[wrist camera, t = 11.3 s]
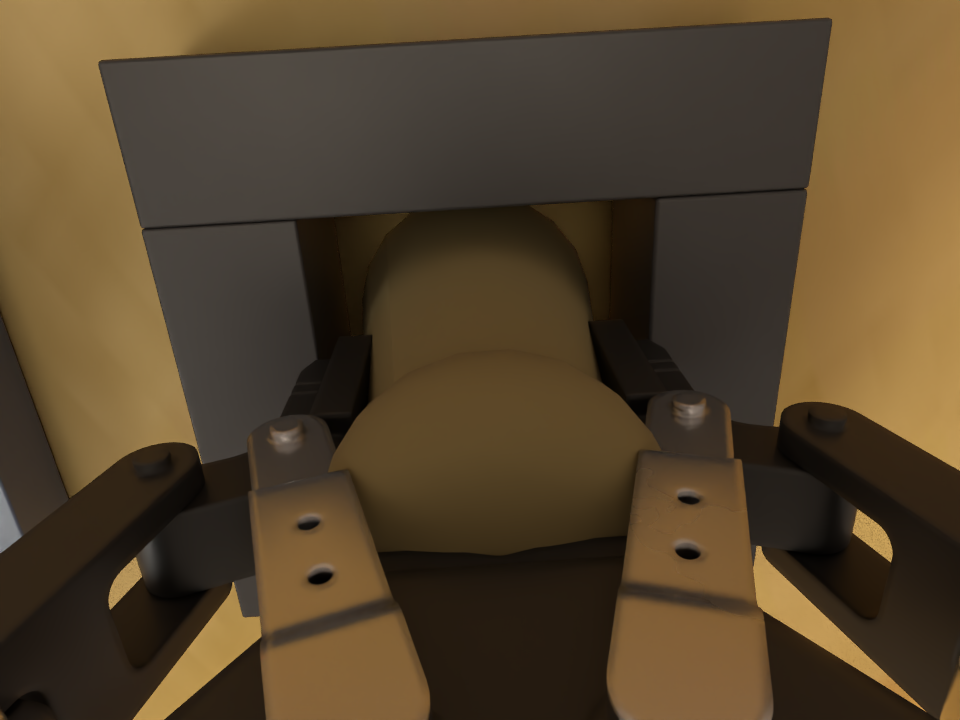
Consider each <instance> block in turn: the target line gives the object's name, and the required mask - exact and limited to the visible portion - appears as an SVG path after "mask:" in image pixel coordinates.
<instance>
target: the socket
mask: <svg viewBox="0 0 960 720" xmlns="http://www.w3.org/2000/svg"><path fill="white" fill-rule="evenodd" d="M831 27H832V19H830V18H814V19H797V20H780V21H763V22H746V23H729V24H712V25H694V26H677V27H660V28H643V29H626V30H609V31H592V32H574V33H557V34H540V35H523V36H506V37H489V38H472V39H454V40H437V41H420V42H403V43H386V44H369V45H352V46H335V47H317V48H300V49H283V50H266V51H249V52H232V53H215V54H197V55H180V56H163V57H146V58H129V59H112V60H101V61H99V64H98V65H99V69H100V73H101V77H102V81H103V84H104V88H105V92H106V96H107V100H108V103H109V107H110V111H111V115H112V119H113V123H114V126H115V130H116V134H117V138H118V142H119V145H120V149H121V153H122V157H123V161H124V164H125V168H126V172H127V176H128V180H129V184H130V187H131V191H132V195H133V199H134V203H135V206H136V210H137V214H138V218H139V222H140V225H141V227H142V228H145V229H143V230H142V235H143V239H144V242H145V246H146V250H147V254H148V258H149V261H150V265H151V269H152V273H153V277H154V280H155V284H156V288H157V292H158V296H159V300H160V303H161V307H162V311H163V315H164V319H165V322H166V326H167V330H168V334H169V338H170V341H171V345H172V349H173V353H174V357H175V360H176V364H177V368H178V372H179V376H180V379H181V383H182V387H183V391H184V395H185V398H186V402H187V406H188V410H189V414H190V418H191V421H192V425H193V429H194V433H195V437H196V440H197V444H198V448H199V452H200V456H201V459H202V463H203V464H206V463H210V462H214V461H218V460H222V459H227V458H230V457H234V456H237V455H240V454H243V453H246V452H248V450H247V439H248V436H249V435H250V433H251V432H252V431H253V430H254V429H256V428H257V427H259V426H260V425H262V424H264V423H266V422H268V421H270V420H273V419H276V418H280V416H281V414H282V412H283V409H284V407H285V405H286V403H287V401H288V399H289V396H291V392H292V390H293V388H294V386H296V381H297V379H298V377H299V375H300V372H301V371H302V370H303V369H305V368H306V367H307V366H309V365H310V364H311V363H312V362H314V361H315V360H323V359H331V356H332V353H333V351H334V348H335V346H336V343H337V340H338V338H339V337H341V336H351V333H350V326H349V319H348V312H347V305H346V298H345V291H344V284H343V277H342V270H341V263H340V256H339V249H338V242H337V235H336V228H335V221H334V217H345V216H362V215H378V214H395V213H411V212H428V211H444V210H460V209H477V208H493V207H510V206H526V205H543V204H559V203H575V202H592V201H608V200H613V210H612V246H611V282H610V318H609V320H614V319H623V321H624V322H625V324H626V325H627V327H628V329H629V330H630V332H631V334H632V335H633V337H634V338H635V340H642V339H649V340H651V341H653V342H654V343H656V344H658V345H660V346H662V347H663V348H665V349H666V351H667V352H668V354H669V355H670V356H671V358H672V359H673V362H675V364H676V365H677V366H678V368H679V371H681V372H682V374H683V375H684V376H685V378H686V379H687V381H688V382H689V384H690V385H691V387H692V388H693V389H694V391H698V392H703V393H707V394H710V395H712V396H715V397H717V398H719V399H720V400H722V401H723V402H725V403H726V404H727V406H728V407H729V409H730V415H731V420H733V421H736V422H741V423H746V424H753V425H763V426H773V425H774V419H775V412H776V405H777V398H778V391H779V384H780V377H781V370H782V363H783V356H784V349H785V343H786V336H787V329H788V322H789V315H790V308H791V301H792V294H793V287H794V280H795V273H796V267H797V260H798V253H799V246H800V239H801V232H802V225H803V218H804V211H805V204H806V198H807V191H806V189H804V188H807V187H808V185H809V179H810V172H811V165H812V158H813V151H814V144H815V138H816V131H817V124H818V117H819V110H820V103H821V96H822V89H823V82H824V75H825V69H826V62H827V55H828V48H829V41H830V34H831ZM755 552H756V545H751V554H752V563H753V566H754V559H755ZM234 584H235V588H236V592H237V596H238V599H239V603H240V607H241V611H242V615H243V617H257V616H260V613H259V603H258V592H257V582H256V575H254V576H251V577H248V578H244V579H241V580H237V581H234Z"/></svg>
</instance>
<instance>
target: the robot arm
mask: <svg viewBox="0 0 960 720" xmlns="http://www.w3.org/2000/svg"><path fill="white" fill-rule="evenodd" d="M588 324H589V328H590V332H591V336H592V341H593V345H594V349H595V353H596V357H597V361H598V365H599V370H600V374H601V378H602V382H603V384H604V385H606V386H607V387H608V388H610V389H611V390H613V391H614V392H615V393H617V394H618V395H619V396H620V397H621V398H622V399H623V400H624V401H625V402H626V404H627V405H628V406H629V407H630V408H631V409H632V411H633V412H634V413H635V414H636V415H637V416H638V418H639V419H640V420H641V421H642V422H643V423H644V425H645V426H646V427H647V428H648V429H649V430H650V432H651V433H652V434H653V436H654V438H655V439H656V441H657V443H658V445H659V447H660V448H661V450H662V451H654V450H645V449H640V450H639V455H638V462H637V470H636V477H635V484H634V492H633V499H632V506H631V514H630V521H629V528H628V536H616V537H601V538H592V539H588V540H583V541H577V542H572V543H566V544H560V545H553V546H546V547H537V548H532V549H528V550H524V551H520V552H516V553H512V554H508V555H502V556H495V555H485V554H477V553H468V552H424V551H408V550H407V551H392V552H377V551H376V548H375V545H374V542H373V539H372V536H371V533H370V530H369V528H368V525H367V522H366V519H365V516H364V513H363V510H362V507H361V505H360V502H359V499H358V496H357V493H356V490H355V487H354V484H353V481H352V479H351V476H350V473H349V470H348V469H347V468H346V469H342V470H337V471H333V472H329V473H328V470H329V467H330V463H331V460H332V457H333V454H334V453H335V451H336V450H337V448H338V446H339V445H340V443H341V442H342V440H343V438H344V437H345V435H346V434H347V432H348V430H349V429H350V427H351V425H352V424H353V422H354V421H355V419H356V417H357V416H358V415H359V414H360V413H361V412H362V411H363V410H364V409H365V408H366V407H367V404H368V389H369V374H370V359H371V344H372V335H357V336H341V337H339V338H338V340H337V343H336V346H335V348H334V351H333V353H332V356H331V359H323V360H315V361H314V362H312V363H311V364H310V365H309V366H307V367H306V368H305V369H303V370H302V371H301V372H300V375H299V377H298V379H297V381H296V386H294V388H293V390H292V392H291V396H289V399H288V401H287V403H286V405H285V407H284V409H283V412H282V414H281V416H280V418H276V419H273V420H270V421H268V422H266V423H264V424H262V425H260V426H259V427H257V428H256V429H254V430H253V431H252V432H251V433H250V435H249V436H248V439H247V450H248V452H246V453H243V454H240V455H237V456H234V457H230V458H227V459H222V460H218V461H214V462H210V463H206V464H201V462H200V459H199V455H198V452H197V450H196V449H195V448H194V447H193V446H191V445H189V444H185V443H177V442H171V443H161V444H156V445H151V446H148V447H145V448H142V449H139V450H137V451H134V452H132V453H130V454H128V455H126V456H125V457H123V458H122V459H120V460H119V461H117V462H116V463H115V464H114V465H112V466H111V467H110V468H109V469H107V470H106V471H105V472H103V473H102V474H101V475H100V476H98V477H97V478H96V479H95V480H93V481H92V482H91V483H89V484H88V485H87V486H86V487H84V488H83V489H82V490H81V491H79V492H78V493H77V494H75V495H74V496H73V497H72V498H70V499H69V500H68V501H67V502H65V503H64V504H63V505H61V506H60V507H59V508H58V509H56V510H55V511H54V512H53V513H51V514H50V515H49V516H47V517H46V518H45V519H44V520H42V521H41V522H40V523H39V524H37V525H36V526H35V527H33V528H32V529H31V530H30V531H28V532H27V533H26V534H24V535H23V536H22V537H21V538H19V539H18V540H17V541H16V542H14V543H13V544H12V545H10V546H9V547H8V548H7V549H5V550H4V551H3V552H2V553H0V720H132V719H133V718H134V717H135V716H136V714H137V713H138V712H139V710H140V709H141V708H142V707H143V705H144V704H145V703H146V701H147V700H148V699H149V697H150V696H151V695H152V694H153V692H154V691H155V690H156V688H157V687H158V686H159V685H160V683H161V682H162V681H163V679H164V678H165V677H166V676H167V674H168V673H169V672H170V670H171V669H172V668H173V666H174V665H175V664H176V663H177V661H178V660H179V659H180V657H181V656H182V655H183V654H184V652H185V651H186V650H187V648H188V647H189V646H190V645H191V643H192V642H193V641H194V639H195V638H196V637H197V635H198V634H199V633H200V632H201V630H202V629H203V628H204V626H205V625H206V624H207V623H208V621H209V620H210V619H211V617H212V616H213V615H214V614H215V612H216V611H217V610H218V608H219V607H220V606H221V604H222V603H223V602H224V601H225V599H226V598H227V596H228V595H229V593H230V591H231V587H232V582H234V581H237V580H241V579H244V578H248V577H251V576H254V575H256V582H257V592H258V603H259V613H260V623H261V634H262V637H261V638H260V639H258V640H257V641H256V642H255V643H254V644H252V645H251V646H250V647H249V648H248V649H247V650H245V651H244V652H243V653H242V654H241V655H240V656H238V657H237V658H236V659H235V660H234V661H233V662H231V663H230V664H229V665H228V666H227V667H226V668H224V669H223V670H222V671H221V672H220V673H218V674H217V675H216V676H215V677H214V678H213V679H211V680H210V681H209V682H208V683H207V684H206V685H204V686H203V687H202V688H201V689H200V690H199V691H197V692H196V693H195V694H194V695H193V696H191V697H190V698H189V699H188V700H187V701H186V702H184V703H183V704H182V705H181V706H180V707H179V708H177V709H176V710H175V711H174V712H173V713H172V714H170V715H169V716H168V717H167V718H166V719H164V720H960V471H959V470H957V469H955V468H954V467H952V466H950V465H948V464H947V463H945V462H943V461H942V460H940V459H938V458H936V457H935V456H933V455H931V454H929V453H928V452H926V451H924V450H922V449H921V448H919V447H917V446H915V445H914V444H912V443H910V442H908V441H907V440H905V439H903V438H901V437H900V436H898V435H896V434H894V433H893V432H891V431H889V430H888V429H886V428H884V427H882V426H881V425H879V424H877V423H875V422H874V421H872V420H870V419H868V418H867V417H865V416H863V415H861V414H860V413H858V412H856V411H854V410H851V409H849V408H846V407H842V406H839V405H835V404H829V403H822V402H803V403H797V404H794V405H791V406H789V407H787V408H785V409H784V410H783V412H782V414H781V419H780V426H779V427H773V426H763V425H753V424H746V423H741V422H736V421H733V420H731V415H730V409H729V407H728V406H727V404H726V403H725V402H723V401H722V400H720V399H719V398H717V397H715V396H712V395H710V394H707V393H703V392H698V391H694V389H693V388H692V387H691V385H690V384H689V382H688V381H687V379H686V378H685V376H684V375H683V374H682V372H681V371H679V368H678V366H677V365H676V364H675V362H673V359H672V358H671V356H670V355H669V354H668V352H667V351H666V349H665V348H663V347H662V346H660V345H658V344H656V343H654V342H653V341H651V340H649V339H642V340H635V338H634V337H633V335H632V334H631V332H630V330H629V329H628V327H627V325H626V324H625V322H624V321H623V319H614V320H598V321H588ZM857 509H859V510H860V511H861V512H863V513H864V514H866V515H867V516H868V517H870V518H871V519H872V520H874V521H875V522H876V523H878V524H879V525H880V526H881V527H882V528H883V529H884V531H885V532H886V534H887V535H888V537H889V539H890V542H891V545H892V550H893V557H892V561H891V563H890V562H889V561H888V560H887V559H885V558H884V557H883V556H881V555H880V554H879V553H878V552H876V551H875V550H874V549H872V548H871V547H870V546H869V545H867V544H866V543H865V542H863V541H862V540H861V539H860V538H858V537H857V536H856V535H854V534H853V533H852V531H853V526H854V522H855V517H856V512H857ZM751 545H757V546H762V551H763V554H764V556H765V557H766V559H767V560H768V561H769V562H770V563H771V564H772V565H773V566H774V567H775V568H776V569H777V570H778V571H779V572H780V573H781V574H782V575H783V576H784V577H785V578H786V579H787V580H788V581H790V582H791V583H792V584H793V585H794V586H795V587H796V588H797V589H798V590H799V591H800V592H801V593H802V594H803V595H804V596H805V597H806V598H807V599H808V600H809V601H811V602H812V603H813V604H814V605H815V606H816V607H817V608H818V609H819V610H820V611H821V612H822V613H823V614H824V615H825V616H826V617H827V618H828V619H829V620H831V621H832V622H833V623H834V624H835V625H836V626H837V627H838V628H839V629H840V630H841V631H842V632H843V633H844V634H845V635H846V636H847V637H848V638H849V639H851V640H852V641H853V642H854V643H855V644H856V645H857V646H858V647H859V648H860V649H861V650H862V651H863V652H864V653H865V654H866V655H867V656H868V657H869V658H870V659H872V660H873V661H874V662H875V663H876V664H877V665H878V666H879V667H880V668H881V669H882V670H883V671H884V672H885V673H886V674H887V675H888V676H889V677H890V678H892V679H893V680H894V681H895V682H896V683H897V684H898V685H899V686H900V687H901V688H902V689H903V690H904V691H905V692H906V693H907V694H908V695H909V696H910V697H912V698H913V699H914V700H915V701H916V702H917V703H918V704H919V705H920V706H921V707H922V708H923V709H924V710H925V711H926V712H925V711H924V710H922V709H920V708H919V707H917V706H916V705H914V704H912V703H911V702H909V701H907V700H906V699H904V698H903V697H901V696H899V695H898V694H896V693H895V692H893V691H891V690H890V689H888V688H886V687H885V686H883V685H882V684H880V683H878V682H877V681H875V680H874V679H872V678H870V677H869V676H867V675H866V674H864V673H862V672H861V671H859V670H857V669H856V668H854V667H853V666H851V665H849V664H848V663H846V662H845V661H843V660H841V659H840V658H838V657H836V656H835V655H833V654H832V653H830V652H828V651H827V650H825V649H824V648H822V647H820V646H819V645H817V644H816V643H814V642H812V641H811V640H809V639H807V638H806V637H804V636H803V635H801V634H799V633H798V632H796V631H795V630H793V629H791V628H790V627H788V626H787V625H785V624H783V623H782V622H780V621H778V620H777V619H775V618H774V617H772V616H770V615H769V614H767V613H766V612H764V611H762V609H761V608H760V607H758V605H757V601H756V592H755V583H754V573H753V563H752V554H751ZM134 557H136V559H137V562H138V565H139V568H140V571H141V574H142V578H141V579H140V580H139V581H138V582H137V583H136V584H135V585H134V586H133V587H132V588H131V589H130V590H129V591H128V592H127V593H126V594H125V595H124V596H123V597H122V598H121V600H120V601H119V602H118V603H117V604H116V605H115V606H114V607H113V608H112V609H111V610H110V609H109V603H108V598H109V592H110V588H111V586H112V583H113V581H114V579H115V578H116V576H117V575H118V574H119V573H120V571H121V570H122V569H123V568H124V567H125V566H126V565H127V564H128V563H129V562H130V561H131V560H132V559H133V558H134Z"/></svg>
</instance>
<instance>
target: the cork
mask: <svg viewBox="0 0 960 720" xmlns="http://www.w3.org/2000/svg"><path fill="white" fill-rule="evenodd" d="M362 306H363V331H364V335H372V344H371V359H370V374H369V389H368V404H367V407H366V408H365V409H364V410H363V411H362V412H361V413H360V414H359V415H358V416H357V417H356V419H355V421H354V422H353V424H352V425H351V427H350V429H349V430H348V432H347V434H346V435H345V437H344V438H343V440H342V442H341V443H340V445H339V446H338V448H337V450H336V451H335V453H334V454H333V457H332V460H331V463H330V467H329V470H328V473H329V472H333V471H337V470H342V469H346V468H347V469H348V470H349V473H350V476H351V479H352V481H353V484H354V487H355V490H356V493H357V496H358V499H359V502H360V505H361V507H362V510H363V513H364V516H365V519H366V522H367V525H368V528H369V530H370V533H371V536H372V539H373V542H374V545H375V548H376V551H377V552H392V551H407V550H408V551H424V552H468V553H477V554H485V555H495V556H502V555H508V554H512V553H516V552H520V551H524V550H528V549H532V548H537V547H546V546H553V545H560V544H566V543H572V542H577V541H583V540H588V539H592V538H601V537H616V536H628V528H629V521H630V514H631V506H632V499H633V492H634V484H635V477H636V470H637V462H638V455H639V450H640V449H645V450H654V451H662V450H661V448H660V447H659V445H658V443H657V441H656V439H655V438H654V436H653V434H652V433H651V432H650V430H649V429H648V428H647V427H646V426H645V425H644V423H643V422H642V421H641V420H640V419H639V418H638V416H637V415H636V414H635V413H634V412H633V411H632V409H631V408H630V407H629V406H628V405H627V404H626V402H625V401H624V400H623V399H622V398H621V397H620V396H619V395H618V394H617V393H615V392H614V391H613V390H611V389H610V388H608V387H607V386H606V385H604V384H603V382H602V378H601V374H600V370H599V365H598V361H597V357H596V353H595V349H594V345H593V341H592V336H591V332H590V328H589V324H588V321H593V316H592V310H591V303H590V297H589V290H588V284H587V280H586V277H585V274H584V271H583V268H582V266H581V263H580V260H579V257H578V254H577V252H576V249H575V248H574V246H573V245H572V244H571V243H570V241H569V240H568V239H567V238H566V237H565V235H564V234H563V233H562V232H561V230H560V229H559V228H558V227H557V225H556V224H555V223H554V222H553V221H552V220H550V219H549V218H547V217H545V216H544V215H542V214H541V213H539V212H537V211H536V210H534V209H533V208H531V207H530V206H528V205H526V206H510V207H493V208H477V209H460V210H444V211H428V212H412V213H411V214H410V215H408V216H407V217H406V218H405V219H404V220H403V221H402V222H400V223H399V224H398V225H397V226H396V227H395V228H394V229H392V230H391V231H390V232H389V233H388V234H387V235H386V236H385V238H384V240H383V241H382V243H381V245H380V247H379V248H378V250H377V252H376V254H375V255H374V257H373V259H372V261H371V262H370V264H369V266H368V271H367V277H366V282H365V287H364V293H363V298H362Z"/></svg>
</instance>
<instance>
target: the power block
mask: <svg viewBox="0 0 960 720" xmlns="http://www.w3.org/2000/svg"><path fill="white" fill-rule="evenodd" d="M68 500H69V499H68V496H67V494H66V491H65V488H64V485H63V483H62V480H61V477H60V475H59V472H58V469H57V466H56V464H55V461H54V458H53V456H52V453H51V450H50V448H49V445H48V442H47V439H46V437H45V434H44V431H43V429H42V426H41V423H40V420H39V418H38V415H37V412H36V410H35V407H34V404H33V401H32V399H31V396H30V393H29V391H28V388H27V385H26V382H25V380H24V377H23V374H22V372H21V369H20V366H19V363H18V361H17V358H16V355H15V353H14V350H13V347H12V344H11V342H10V339H9V336H8V334H7V331H6V328H5V325H4V323H3V320H2V317H1V315H0V553H2V552H3V551H4V550H5V549H7V548H8V547H9V546H10V545H12V544H13V543H14V542H16V541H17V540H18V539H19V538H21V537H22V536H23V535H24V534H26V533H27V532H28V531H30V530H31V529H32V528H33V527H35V526H36V525H37V524H39V523H40V522H41V521H42V520H44V519H45V518H46V517H47V516H49V515H50V514H51V513H53V512H54V511H55V510H56V509H58V508H59V507H60V506H61V505H63V504H64V503H65V502H67V501H68Z"/></svg>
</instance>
